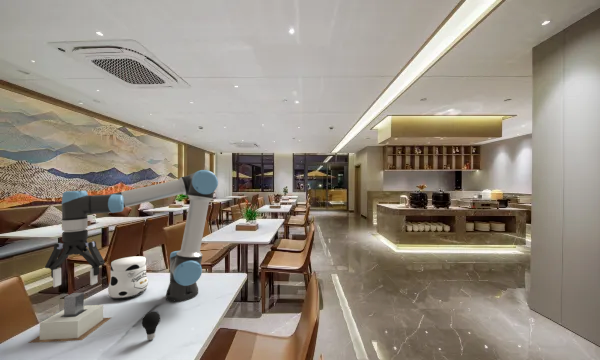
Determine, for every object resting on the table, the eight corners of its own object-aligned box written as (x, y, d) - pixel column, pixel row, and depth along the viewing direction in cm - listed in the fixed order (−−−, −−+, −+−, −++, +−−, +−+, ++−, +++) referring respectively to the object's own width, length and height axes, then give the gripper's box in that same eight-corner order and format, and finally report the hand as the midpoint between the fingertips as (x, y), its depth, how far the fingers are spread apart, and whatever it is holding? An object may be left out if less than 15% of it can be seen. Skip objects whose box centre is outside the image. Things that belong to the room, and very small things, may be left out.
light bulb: (146, 335, 95) (146, 308, 95) (163, 334, 95) (163, 307, 95) (138, 345, 89) (138, 316, 89) (155, 344, 89) (155, 315, 90)
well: (103, 319, 105) (103, 304, 105) (77, 338, 92) (77, 321, 92) (69, 321, 104) (70, 306, 104) (39, 339, 91) (39, 322, 91)
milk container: (148, 296, 130) (148, 261, 131) (106, 305, 121) (106, 267, 121) (147, 285, 145) (147, 254, 145) (109, 292, 135) (110, 258, 136)
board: (111, 320, 106) (111, 317, 106) (81, 343, 90) (81, 340, 90) (66, 322, 105) (66, 319, 105) (27, 346, 89) (27, 342, 89)
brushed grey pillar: (83, 323, 100) (83, 292, 100) (74, 328, 96) (75, 296, 96) (72, 323, 100) (73, 292, 100) (63, 329, 96) (64, 297, 96)
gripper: (114, 227, 104) (115, 279, 103) (50, 229, 102) (50, 282, 102) (101, 230, 96) (102, 286, 96) (31, 233, 95) (32, 290, 94)
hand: (75, 284), depth 99 cm, fingers open, 13 cm apart
